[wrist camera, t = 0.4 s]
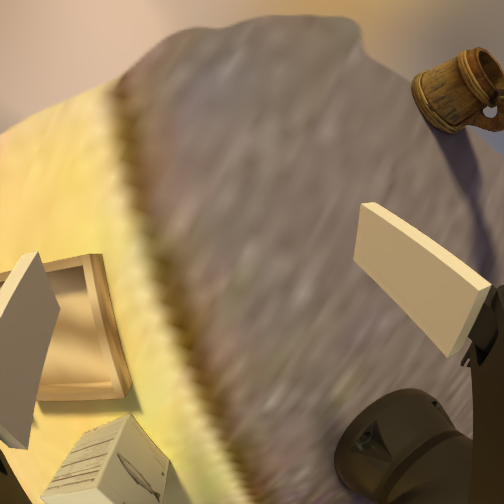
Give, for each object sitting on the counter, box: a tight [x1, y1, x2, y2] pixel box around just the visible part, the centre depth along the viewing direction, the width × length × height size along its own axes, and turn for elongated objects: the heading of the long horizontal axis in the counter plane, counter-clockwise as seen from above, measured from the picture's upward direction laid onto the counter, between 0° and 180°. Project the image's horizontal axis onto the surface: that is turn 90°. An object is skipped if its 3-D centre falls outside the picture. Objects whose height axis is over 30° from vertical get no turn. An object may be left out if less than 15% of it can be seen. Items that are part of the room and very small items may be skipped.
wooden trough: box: [0, 254, 132, 401], centre depth 24 cm, size 13×13×3 cm
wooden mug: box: [412, 47, 504, 134], centre depth 23 cm, size 9×14×18 cm, turn 11°
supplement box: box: [40, 413, 169, 504], centre depth 20 cm, size 7×7×13 cm
